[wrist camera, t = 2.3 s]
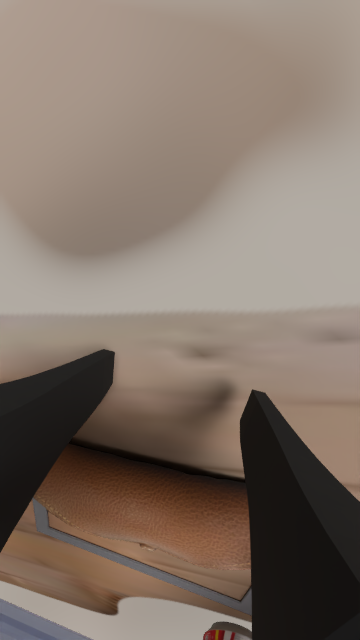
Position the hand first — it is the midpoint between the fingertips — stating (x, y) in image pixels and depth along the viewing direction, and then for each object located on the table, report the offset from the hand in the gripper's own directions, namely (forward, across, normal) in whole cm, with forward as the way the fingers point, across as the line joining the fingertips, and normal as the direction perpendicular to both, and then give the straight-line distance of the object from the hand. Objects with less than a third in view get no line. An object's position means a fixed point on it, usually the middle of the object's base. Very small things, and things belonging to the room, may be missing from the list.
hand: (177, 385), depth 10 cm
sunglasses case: (+2, 0, +12) cm, 12 cm away
